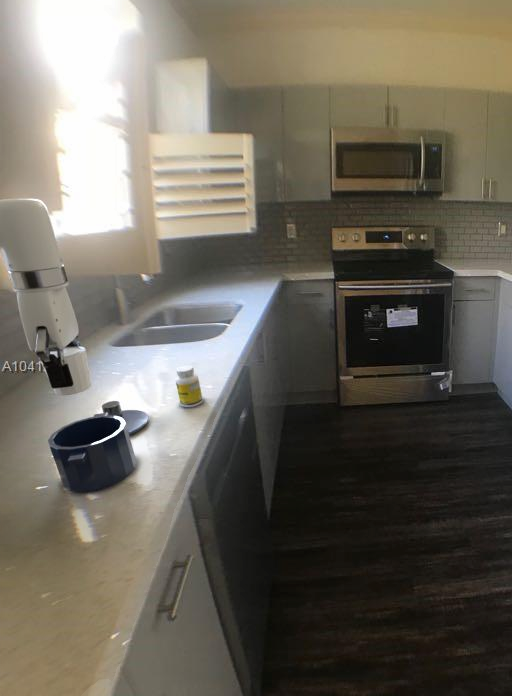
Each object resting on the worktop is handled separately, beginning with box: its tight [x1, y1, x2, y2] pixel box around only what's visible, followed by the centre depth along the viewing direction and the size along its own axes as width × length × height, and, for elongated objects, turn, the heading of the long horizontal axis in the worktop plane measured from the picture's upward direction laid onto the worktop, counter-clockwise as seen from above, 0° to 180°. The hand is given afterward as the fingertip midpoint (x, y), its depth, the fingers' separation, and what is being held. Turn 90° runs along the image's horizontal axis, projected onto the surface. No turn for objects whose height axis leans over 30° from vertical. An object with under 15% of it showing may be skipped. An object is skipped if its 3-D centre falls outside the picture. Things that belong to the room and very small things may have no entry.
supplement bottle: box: [175, 365, 204, 408], centre depth 117 cm, size 5×5×10 cm
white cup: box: [38, 346, 92, 397], centre depth 81 cm, size 7×7×7 cm
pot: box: [47, 412, 137, 494], centre depth 89 cm, size 13×18×10 cm
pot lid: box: [101, 400, 149, 436], centre depth 106 cm, size 14×14×6 cm
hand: (70, 377), depth 82 cm, fingers closed on white cup, 6 cm apart
